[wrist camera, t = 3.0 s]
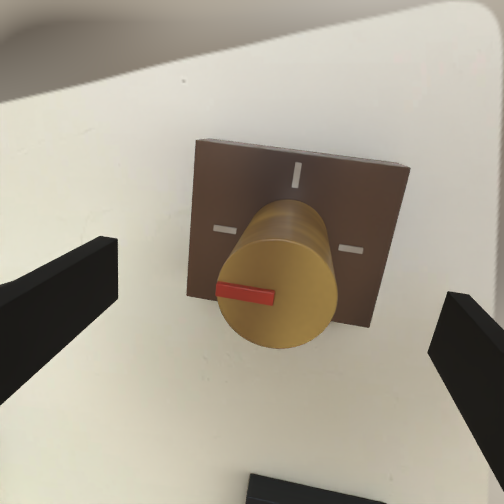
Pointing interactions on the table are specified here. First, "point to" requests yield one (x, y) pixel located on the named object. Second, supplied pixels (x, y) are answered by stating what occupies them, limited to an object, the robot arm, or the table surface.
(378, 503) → the block
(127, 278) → the table surface
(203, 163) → the plate
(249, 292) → the lock knob
